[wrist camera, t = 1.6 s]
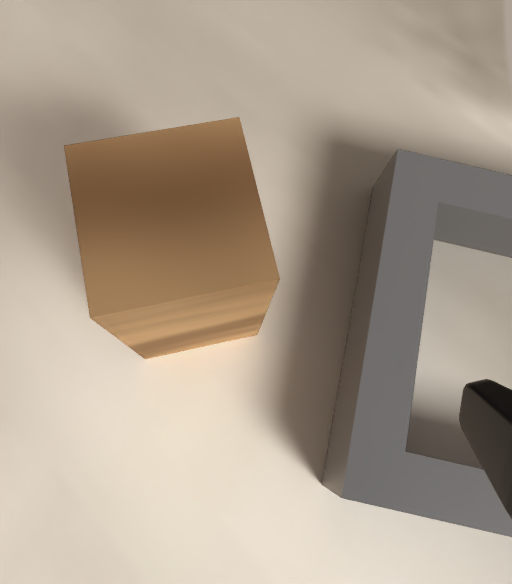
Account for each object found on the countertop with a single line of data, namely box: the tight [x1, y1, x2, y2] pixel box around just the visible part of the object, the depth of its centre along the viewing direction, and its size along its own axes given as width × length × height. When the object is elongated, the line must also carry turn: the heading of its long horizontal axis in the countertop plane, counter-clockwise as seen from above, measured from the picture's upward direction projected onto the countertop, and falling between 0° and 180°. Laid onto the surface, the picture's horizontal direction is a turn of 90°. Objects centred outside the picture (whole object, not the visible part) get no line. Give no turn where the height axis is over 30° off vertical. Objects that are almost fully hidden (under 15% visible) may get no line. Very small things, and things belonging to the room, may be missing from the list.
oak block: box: [64, 117, 280, 359], centre depth 18 cm, size 5×5×9 cm
